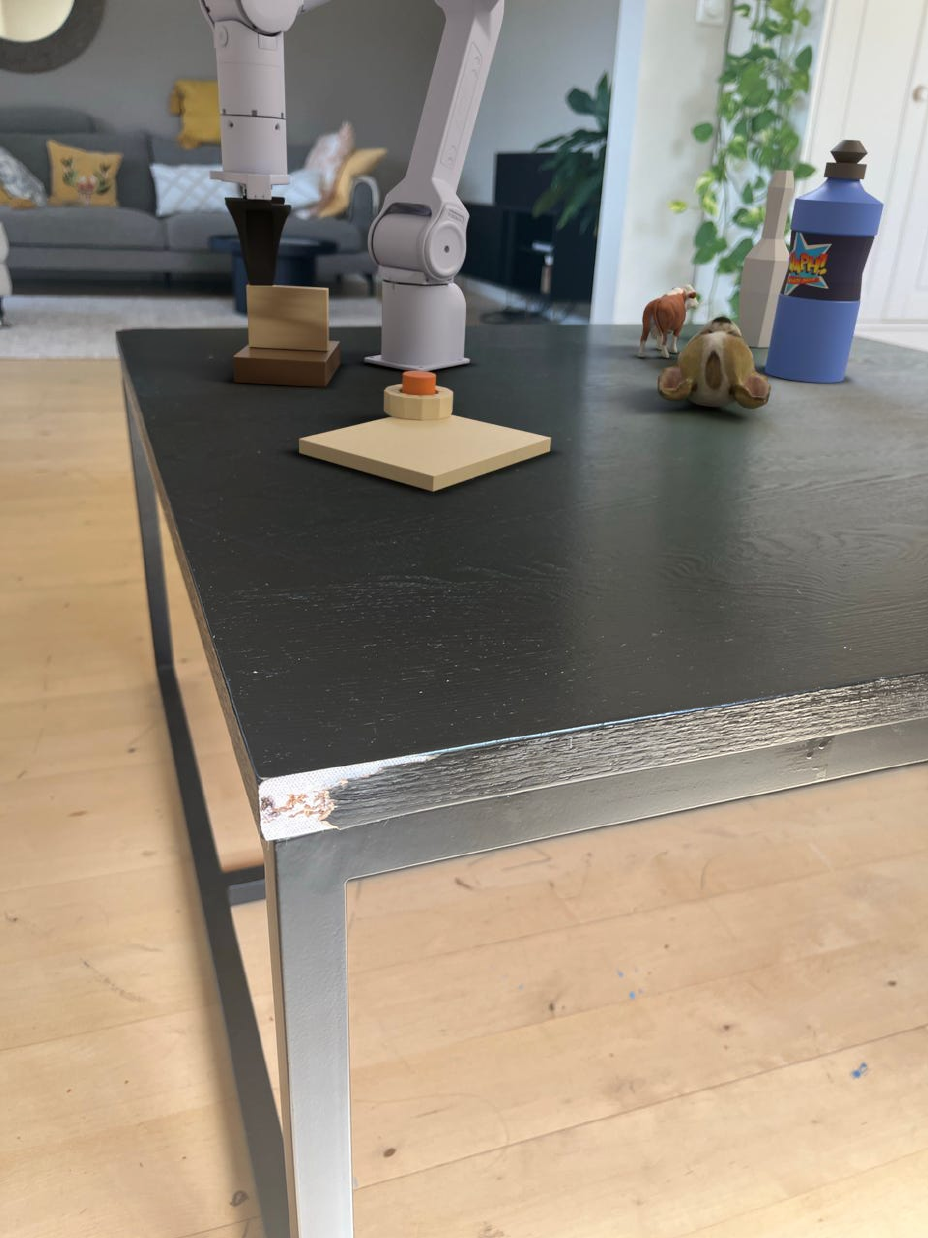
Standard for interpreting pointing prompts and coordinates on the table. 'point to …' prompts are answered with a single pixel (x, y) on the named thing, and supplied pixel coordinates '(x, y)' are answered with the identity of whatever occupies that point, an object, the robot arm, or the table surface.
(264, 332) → the light wood flat panel
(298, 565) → the table surface
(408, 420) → the beige button base
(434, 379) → the button
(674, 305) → the bull figurine
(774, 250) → the low poly bottle
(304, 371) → the stand
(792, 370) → the water bottle
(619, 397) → the table surface
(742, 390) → the ceramic sculpture
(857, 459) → the table surface
